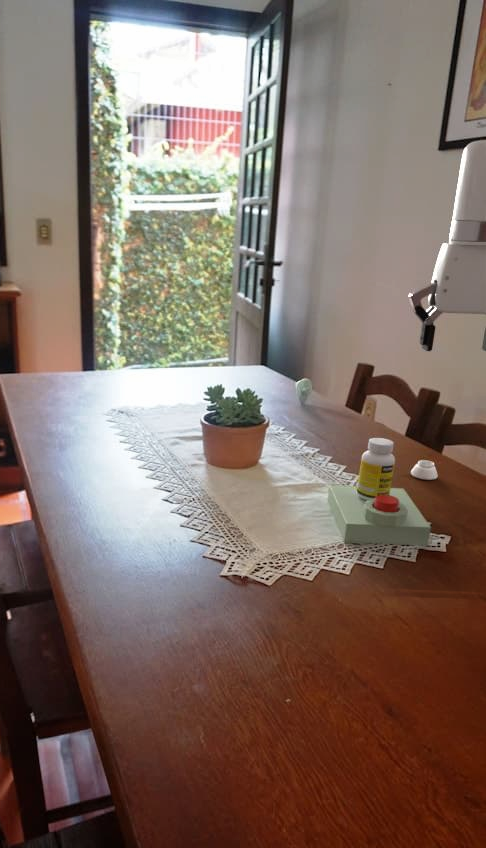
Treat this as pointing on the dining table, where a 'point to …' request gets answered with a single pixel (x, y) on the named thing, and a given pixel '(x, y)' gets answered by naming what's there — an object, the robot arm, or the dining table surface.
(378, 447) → the supplement bottle
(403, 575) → the dining table surface
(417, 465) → the small white bowl
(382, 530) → the red button box
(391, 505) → the button
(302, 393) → the pale green rock
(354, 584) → the dining table surface
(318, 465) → the dining table surface
